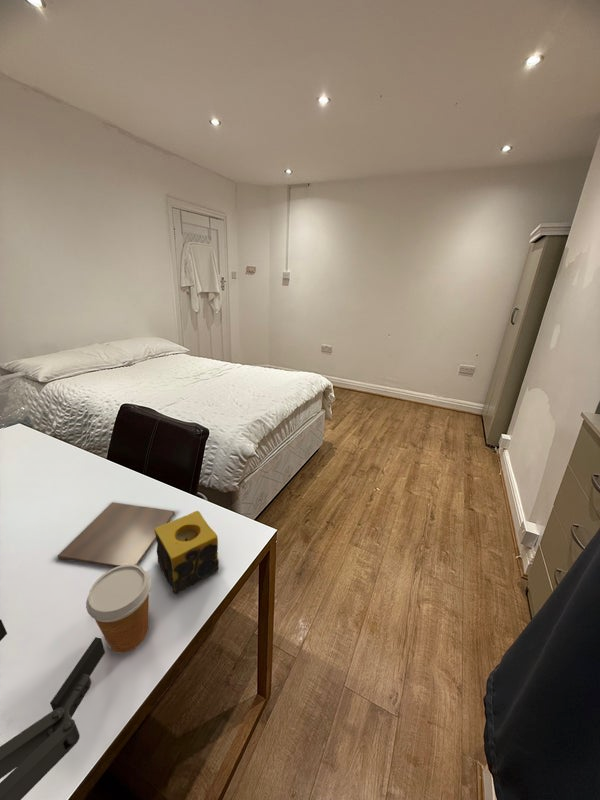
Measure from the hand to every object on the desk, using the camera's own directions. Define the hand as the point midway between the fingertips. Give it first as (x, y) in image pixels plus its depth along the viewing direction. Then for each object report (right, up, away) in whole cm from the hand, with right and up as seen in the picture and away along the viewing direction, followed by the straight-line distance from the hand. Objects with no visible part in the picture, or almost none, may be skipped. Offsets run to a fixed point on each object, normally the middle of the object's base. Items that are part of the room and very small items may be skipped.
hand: (50, 634), depth 40 cm
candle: (+7, -8, +31) cm, 32 cm away
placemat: (-12, -3, +38) cm, 41 cm away
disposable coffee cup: (+1, -13, +17) cm, 22 cm away
